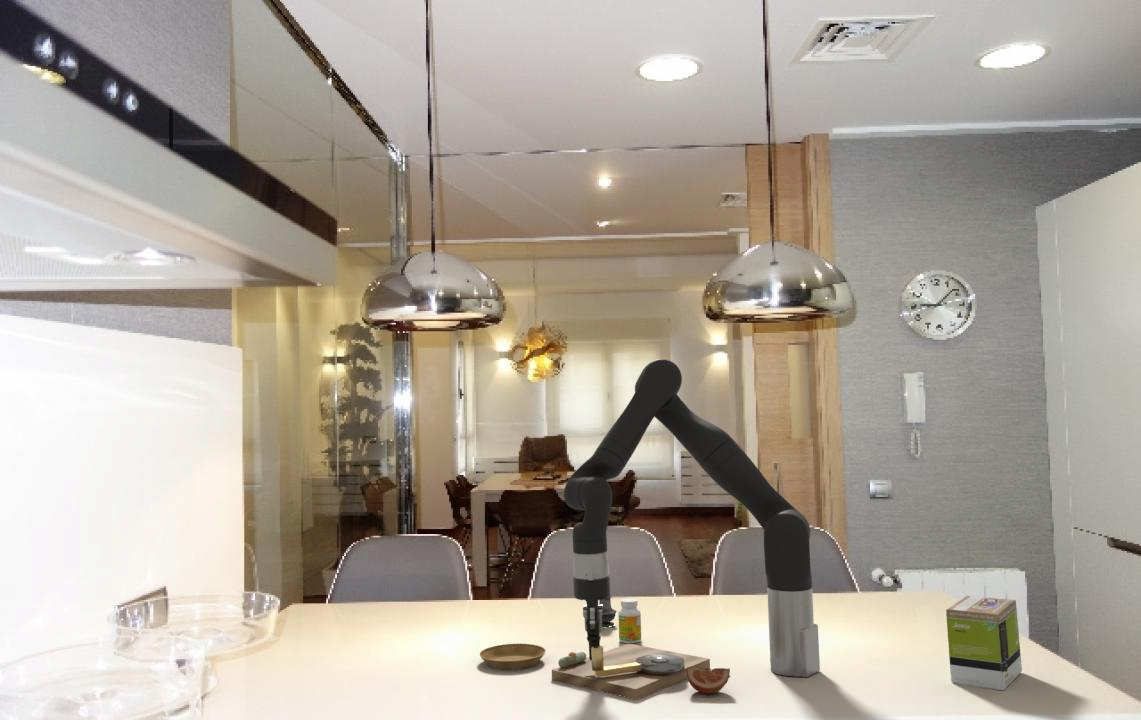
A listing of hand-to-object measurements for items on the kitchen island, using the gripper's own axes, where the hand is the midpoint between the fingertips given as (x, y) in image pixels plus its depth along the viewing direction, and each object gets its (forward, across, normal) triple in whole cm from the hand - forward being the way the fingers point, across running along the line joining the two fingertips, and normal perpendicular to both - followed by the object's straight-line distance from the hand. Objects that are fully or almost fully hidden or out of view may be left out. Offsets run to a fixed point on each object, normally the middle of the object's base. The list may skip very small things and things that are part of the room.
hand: (594, 659), depth 180 cm
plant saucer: (+5, -16, -19) cm, 25 cm away
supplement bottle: (+6, -34, +8) cm, 35 cm away
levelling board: (+5, -6, +8) cm, 11 cm away
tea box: (+6, 0, +78) cm, 78 cm away
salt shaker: (+6, -50, +2) cm, 50 cm away
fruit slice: (+5, +8, +22) cm, 24 cm away
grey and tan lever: (+3, 0, +9) cm, 9 cm away
